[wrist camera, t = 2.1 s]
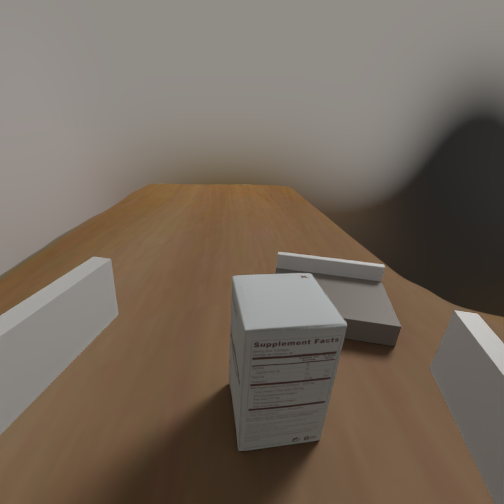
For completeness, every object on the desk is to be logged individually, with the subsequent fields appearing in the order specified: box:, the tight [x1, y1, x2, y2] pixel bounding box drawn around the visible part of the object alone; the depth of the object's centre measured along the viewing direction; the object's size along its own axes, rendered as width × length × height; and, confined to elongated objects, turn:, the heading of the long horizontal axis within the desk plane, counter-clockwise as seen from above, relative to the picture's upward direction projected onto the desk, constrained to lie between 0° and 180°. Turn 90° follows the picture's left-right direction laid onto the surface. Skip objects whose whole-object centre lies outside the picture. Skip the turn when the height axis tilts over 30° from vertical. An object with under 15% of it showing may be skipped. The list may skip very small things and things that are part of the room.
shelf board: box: [275, 252, 401, 346], centre depth 42 cm, size 16×12×5 cm
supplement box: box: [229, 273, 347, 451], centre depth 25 cm, size 7×7×13 cm
